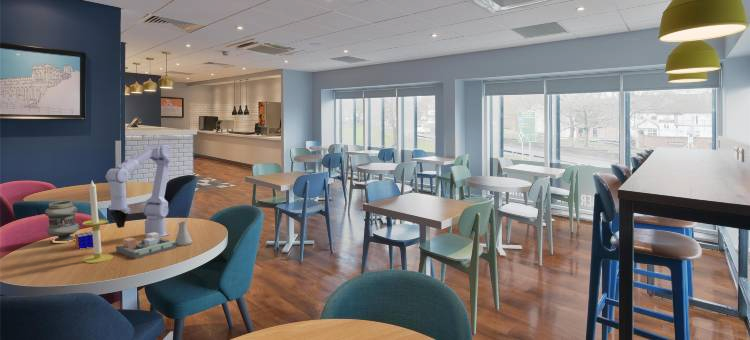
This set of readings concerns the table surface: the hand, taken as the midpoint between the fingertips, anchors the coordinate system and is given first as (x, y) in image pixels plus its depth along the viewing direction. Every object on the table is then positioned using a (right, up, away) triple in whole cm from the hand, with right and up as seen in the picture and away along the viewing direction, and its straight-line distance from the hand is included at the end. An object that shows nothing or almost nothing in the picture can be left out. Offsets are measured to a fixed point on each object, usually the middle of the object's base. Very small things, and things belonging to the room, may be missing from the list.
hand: (120, 227), depth 175 cm
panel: (+11, -10, 0) cm, 15 cm away
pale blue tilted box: (+15, -9, -3) cm, 17 cm away
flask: (+23, -9, +8) cm, 26 cm away
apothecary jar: (-33, -8, +11) cm, 35 cm away
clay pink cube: (+6, -9, -3) cm, 11 cm away
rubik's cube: (-17, -9, +3) cm, 20 cm away
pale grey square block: (+11, -8, +6) cm, 15 cm away
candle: (-1, -11, -12) cm, 17 cm away
